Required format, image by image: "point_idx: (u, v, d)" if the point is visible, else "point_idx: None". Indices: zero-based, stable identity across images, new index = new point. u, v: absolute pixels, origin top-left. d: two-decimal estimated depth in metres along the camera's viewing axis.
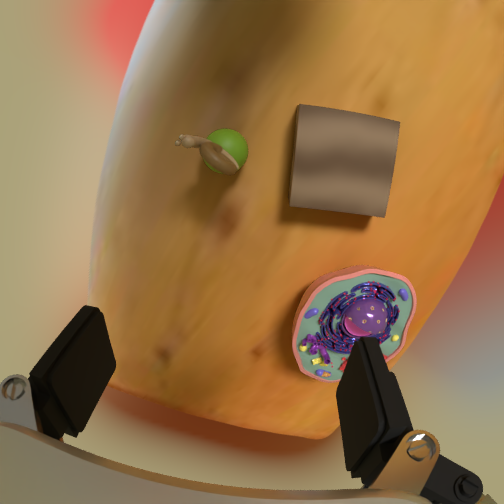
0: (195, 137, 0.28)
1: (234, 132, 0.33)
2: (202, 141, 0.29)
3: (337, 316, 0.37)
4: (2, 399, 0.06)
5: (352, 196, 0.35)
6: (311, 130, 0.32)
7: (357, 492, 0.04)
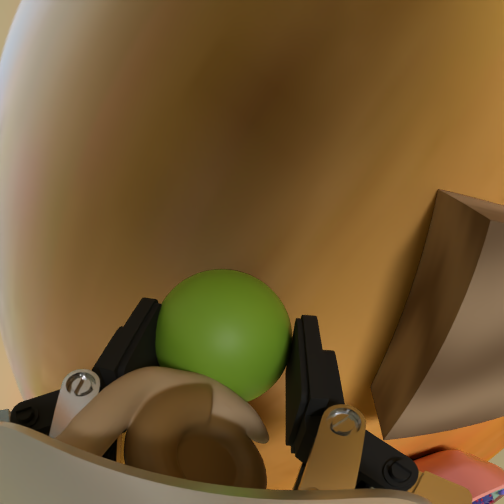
0: (93, 438, 0.05)
1: (253, 304, 0.10)
2: (131, 415, 0.06)
3: None
4: (69, 396, 0.06)
5: (498, 401, 0.12)
6: (492, 297, 0.09)
7: (358, 492, 0.04)
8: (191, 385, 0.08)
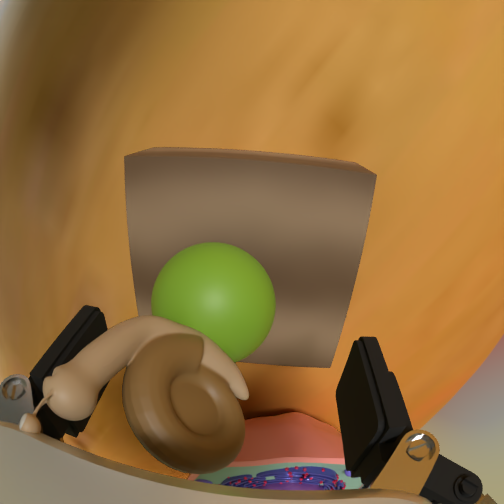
0: (99, 365, 0.07)
1: (245, 271, 0.12)
2: (133, 352, 0.08)
3: None
4: (2, 399, 0.06)
5: None
6: (154, 213, 0.15)
7: (357, 492, 0.04)
8: (186, 334, 0.10)
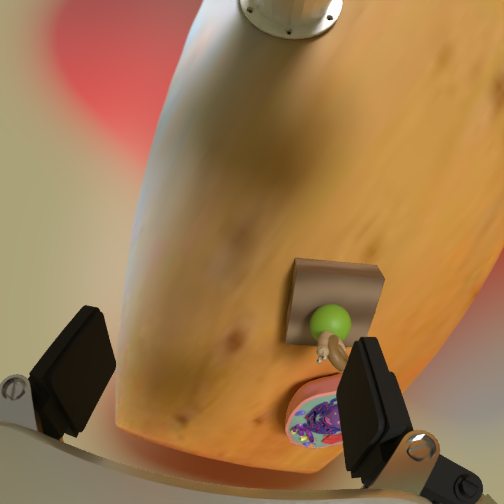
0: (327, 344, 0.31)
1: (345, 315, 0.36)
2: (328, 340, 0.33)
3: (319, 415, 0.44)
4: (2, 399, 0.06)
5: None
6: (305, 292, 0.40)
7: (358, 492, 0.04)
8: (334, 335, 0.34)
